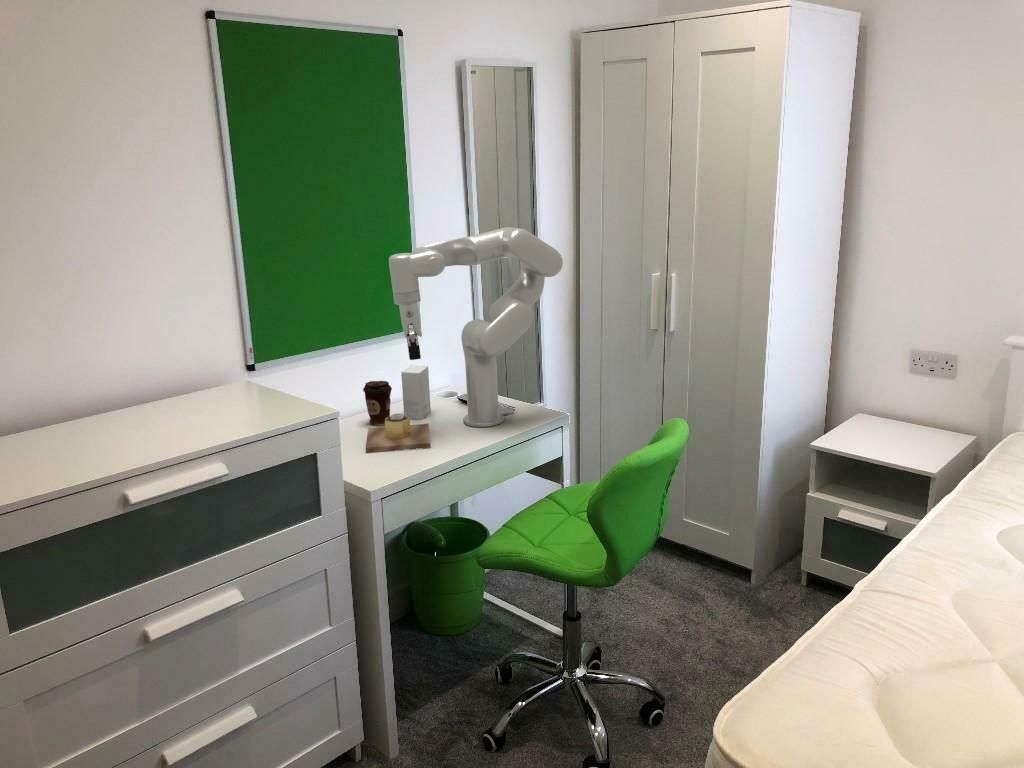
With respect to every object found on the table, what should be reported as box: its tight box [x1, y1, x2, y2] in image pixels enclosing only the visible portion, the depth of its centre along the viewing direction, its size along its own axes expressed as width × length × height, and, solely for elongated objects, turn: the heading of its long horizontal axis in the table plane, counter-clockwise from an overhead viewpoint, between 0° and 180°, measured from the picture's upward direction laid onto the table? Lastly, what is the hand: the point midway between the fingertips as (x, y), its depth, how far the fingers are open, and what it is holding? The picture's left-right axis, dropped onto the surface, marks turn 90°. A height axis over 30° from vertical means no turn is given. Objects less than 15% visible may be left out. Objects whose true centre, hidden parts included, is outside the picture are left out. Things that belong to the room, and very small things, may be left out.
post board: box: [365, 413, 431, 454], centre depth 241 cm, size 18×18×8 cm
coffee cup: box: [362, 380, 393, 426], centre depth 257 cm, size 9×8×13 cm
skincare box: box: [400, 364, 432, 420], centre depth 263 cm, size 8×7×16 cm
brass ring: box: [384, 414, 411, 439], centre depth 241 cm, size 7×7×5 cm
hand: (414, 355), depth 242 cm, fingers open, 9 cm apart
